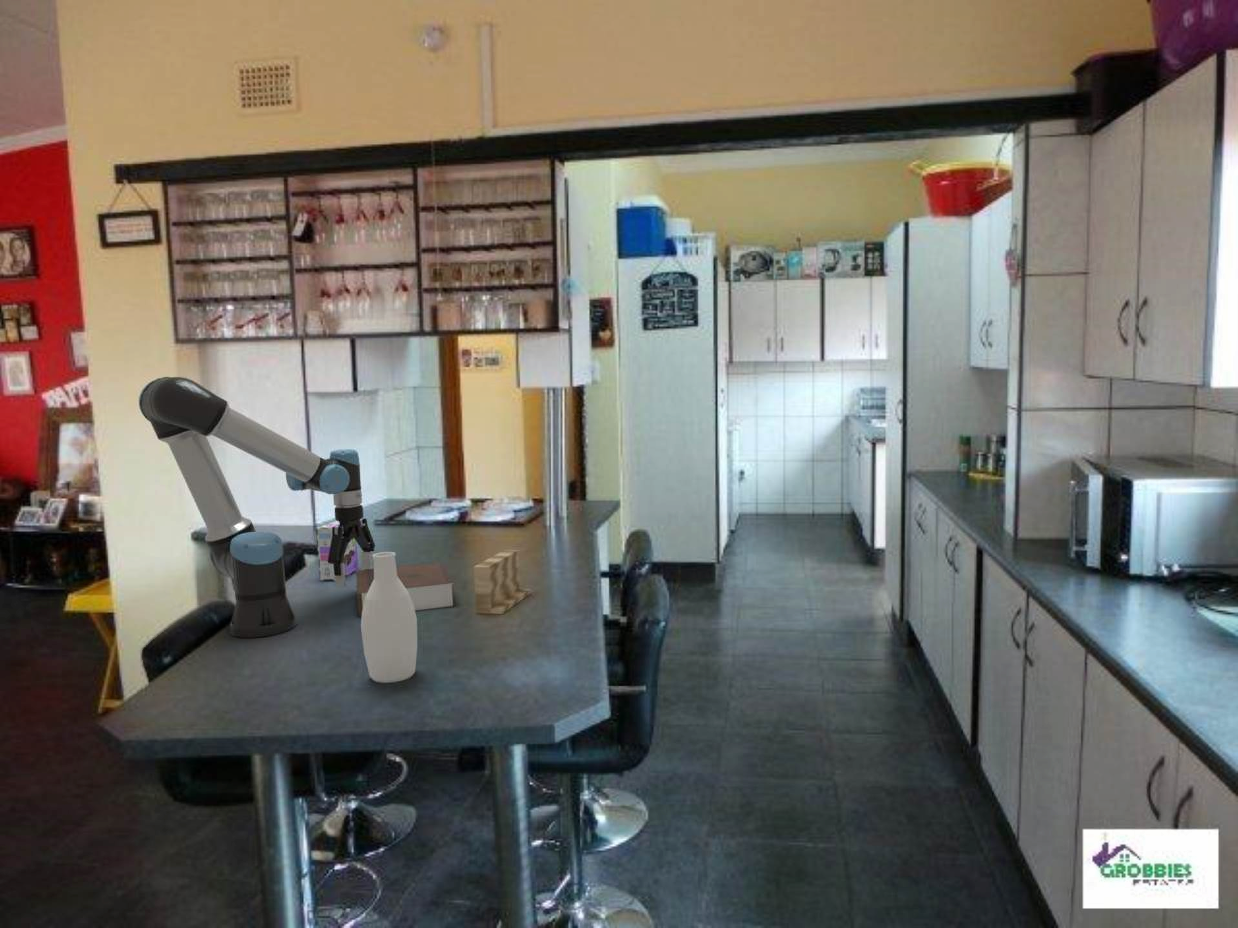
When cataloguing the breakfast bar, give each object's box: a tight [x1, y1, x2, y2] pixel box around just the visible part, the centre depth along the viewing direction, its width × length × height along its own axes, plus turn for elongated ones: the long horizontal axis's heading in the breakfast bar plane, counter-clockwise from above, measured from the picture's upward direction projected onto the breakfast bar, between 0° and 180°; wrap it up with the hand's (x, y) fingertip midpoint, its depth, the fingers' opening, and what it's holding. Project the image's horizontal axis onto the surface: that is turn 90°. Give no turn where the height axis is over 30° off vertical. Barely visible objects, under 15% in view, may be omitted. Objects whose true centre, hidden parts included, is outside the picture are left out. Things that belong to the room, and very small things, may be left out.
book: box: [355, 561, 454, 618], centre depth 244 cm, size 24×28×6 cm
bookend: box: [473, 549, 532, 615], centre depth 235 cm, size 20×7×12 cm, turn 164°
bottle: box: [360, 551, 418, 684], centre depth 182 cm, size 11×11×25 cm
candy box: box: [315, 520, 359, 582], centre depth 274 cm, size 14×6×16 cm, turn 168°
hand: (354, 580), depth 250 cm, fingers open, 13 cm apart
